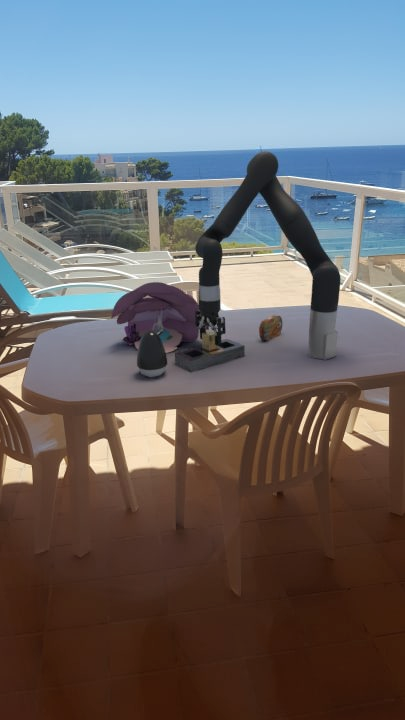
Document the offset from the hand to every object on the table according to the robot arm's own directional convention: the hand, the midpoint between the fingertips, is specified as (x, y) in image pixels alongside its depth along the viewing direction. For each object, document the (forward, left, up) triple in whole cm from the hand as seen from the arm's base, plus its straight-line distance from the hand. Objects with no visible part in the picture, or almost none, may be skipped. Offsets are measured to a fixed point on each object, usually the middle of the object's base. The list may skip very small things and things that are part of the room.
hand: (210, 341), depth 176 cm
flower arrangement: (+25, +6, -7) cm, 27 cm away
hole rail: (0, 0, -7) cm, 7 cm away
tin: (+4, -34, -7) cm, 35 cm away
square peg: (0, 0, -6) cm, 6 cm away
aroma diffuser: (+2, +23, -7) cm, 24 cm away
